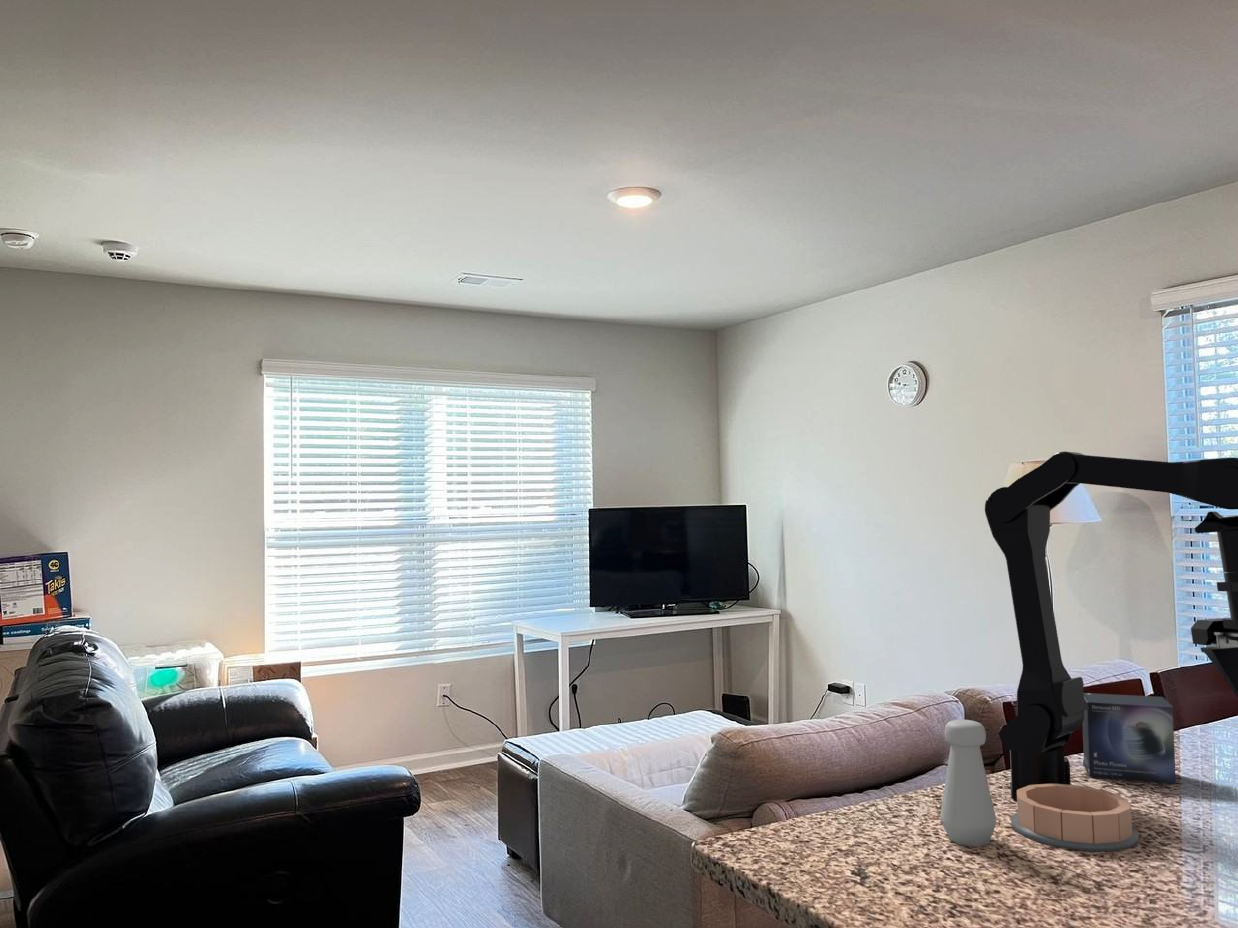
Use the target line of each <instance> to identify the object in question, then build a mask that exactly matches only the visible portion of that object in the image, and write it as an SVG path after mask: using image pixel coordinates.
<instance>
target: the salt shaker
mask: <svg viewBox="0 0 1238 928" xmlns="http://www.w3.org/2000/svg"><path fill="white" fill-rule="evenodd" d="M986 733H987V732H986V728H985V726H984V725H983V724H982V723H980V722H977V721H976V720H970V719H954V720H950V721H948V722H947V723H946V724H945V726H944V739H945V740H946V742H947V743H949V744H950V747H949V752H948V753H949V755H948V760H947V761H948V762H947V769H946V773H945V774H946V775H945V782H944V788H943V795H942V802H941V809H940V816H939V817H940V821H941V824H942V825H943V828H944V830H945V833H946V835H947V837H948V839H949V840H950V841H952V842H953V843H956V844H957V845H960V846H967V847H974V848H977V847H982V846H987V845H989V844H990V841H991V839H992V836H993V834H994V830H995V828H996V825H997V816H996V811H995V808H994V804H993V800H992V795H991V791H990V787H989V786H990V785H989V781H988V778H987V774H986V770H985V766H984V761H983V756H982V751H981V746H984V744H985V743H986V739H987V737H986V736H987V734H986Z"/></svg>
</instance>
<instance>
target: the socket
mask: <svg viewBox="0 0 1238 928" xmlns="http://www.w3.org/2000/svg"><path fill="white" fill-rule="evenodd" d="M1016 804H1017V805H1016V807H1017V808H1016V809H1017V812H1015V813H1014V814H1012V816H1011V818H1010V822H1011V824H1010V825H1011V828H1012V829H1013V830H1014V831H1015V833H1018V834H1019V835H1020V836H1023V837H1025V838H1026V839H1029V840H1032V841H1035V842H1037V843H1040V844H1043V845H1048V846H1052V847H1055V848H1061V849H1068V850H1074V851H1084V852H1085V851H1086V852H1115V851H1116V852H1117V851H1122V850H1127V849H1131V848H1133V847H1135V846H1137V845H1138V844H1139V841H1140V833H1139V831H1138V829H1137V828H1136V827H1134V826H1133V820H1132V819H1133V818H1132V806H1131V804H1130V802H1129V800H1128V799H1127V798H1125V797H1123V796H1120V795H1118V794H1115V793H1113V792H1111V791H1108V790H1103V789H1100V788H1099V789H1098V788H1095V787H1089V786H1084V785H1077V784H1071V785H1066V784H1037V785H1028V786H1026V787H1023V788H1021V789H1018V790H1017V799H1016Z"/></svg>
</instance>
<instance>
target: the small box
mask: <svg viewBox="0 0 1238 928" xmlns="http://www.w3.org/2000/svg"><path fill="white" fill-rule="evenodd" d="M1083 693H1084V698H1085V702H1086V703H1087V705H1088V707H1089V709H1088V710H1085V711H1084V720H1083V723H1082V741H1083V742H1082V744H1083V745H1082V746H1083V761H1082V766H1083V767H1084V768H1085V770H1086V773H1087V775H1088V776H1089V777H1090V778H1098V779H1099V778H1100V779H1110V780H1111V779H1112V780H1121V781H1122V780H1123V781H1124V780H1125V781H1135V782H1145V783H1146V782H1148V783H1158V784H1169V785H1170V784H1171V785H1176V784H1177V779H1176V778H1177V777H1176V757H1175V752H1176V751H1175V731H1174V730H1175V729H1174V707H1173V705H1172V704H1171V703H1170V702H1169V701H1168V700H1167V699H1165V697H1163V696H1152V695H1151V696H1149V695H1131V694H1130V695H1129V694H1111V693H1110V694H1109V693H1094V692H1093V693H1092V692H1083Z"/></svg>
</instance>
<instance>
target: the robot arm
mask: <svg viewBox="0 0 1238 928" xmlns="http://www.w3.org/2000/svg"><path fill="white" fill-rule="evenodd" d="M1080 484H1084V485H1093V486H1103V487H1112V488H1113V487H1114V488H1121V489H1132V490H1139V491H1140V490H1141V491H1150V492H1158V493H1167V494H1168V493H1169V494H1172V495H1176V496H1179V497H1183V498H1185V499H1188V500H1192V501H1195V502H1198V503H1202V504H1205V505H1209V506H1213V507H1216V508H1221V509H1225V510H1229V511H1230V510H1238V457H1220V458H1219V457H1218V458H1217V457H1216V458H1204V459H1196V460H1195V459H1194V460H1193V459H1192V460H1185V461H1184V460H1183V461H1172V462H1171V461H1157V460H1145V459H1138V458H1137V459H1136V458H1126V457H1125V458H1121V457H1113V456H1112V457H1111V456H1100V455H1096V456H1095V455H1089V454H1088V455H1087V454H1083V453H1080V452H1075V451H1073V452H1072V451H1059V452H1057V453H1054V454H1052V455H1051V456H1050V458H1048V459H1047V460H1045V462H1043V463H1042V464H1040V465H1039V466H1038V467H1036V468H1034V469H1032V470H1031V471H1029V472H1028V473H1026V474H1024V475H1022V476H1021V477H1019V478H1017V479H1016V480H1015V481H1014V482H1012V483H1011V484H1010V485H1008V486H1002V487H999V488H997V489H996V490H994V491H993V492H991V494H990V495H989V496H988V498H987V499H986V500H985V502H984V514H985V517H986V520H987V523H988V526H989V529H990V532H991V535H992V538H993V539H994V541H995V542H996V544H997V546H998V548H999V549H1000V550H1001V552H1002V554H1003V556H1004V558H1005V560H1006V566H1007V573H1008V580H1009V587H1010V592H1011V599H1012V600H1011V601H1012V605H1013V611H1014V612H1013V613H1014V618H1015V623H1016V629H1017V630H1016V631H1017V637H1018V644H1019V650H1020V655H1021V662H1022V663H1021V664H1022V669H1021V670H1022V671H1021V674H1020V679H1019V681H1018V687H1017V690H1016V716H1015V717H1014V718H1012V720H1010V721H1009V722H1008V723H1007V724H1006V725H1005V726H1003V728H1001V729H1000V730H999V732H998V735H999V739H1000V742H1001V745H1002V747H1003V749H1005V750H1008V751H1009V758H1010V760H1009V761H1010V783H1009V787H1010V788H1009V789H1010V798H1011V799H1013V800H1017V790H1018V789H1021V788H1023V787H1026V786H1028V785H1037V784H1066V785H1072V784H1071V783H1072V782H1071V765H1070V764H1071V763H1070V760H1069V758H1067V757H1065V750H1064V747H1063V745H1067V744H1069V743H1070V742H1069V741H1070V739H1071V737H1072V733H1073V732H1075V731H1077V730H1078V729H1079V728H1080V727H1081V726H1082V725H1083V720H1084V711H1085V710H1088V709H1089V707H1088V705H1087V703H1086V702H1085V698H1084V693H1085V692H1084V679H1083V677H1081V676H1077V677H1071V675H1070V673H1069V672H1068V671H1067V669H1066V668H1065V666H1064V664H1063V663H1064V662H1063V661H1062V660H1063V659H1062V655H1061V654H1062V653H1061V647H1060V642H1059V636H1058V631H1057V623H1056V619H1055V618H1056V617H1055V612H1054V606H1053V600H1052V594H1051V593H1052V591H1051V588H1050V586H1051V585H1050V581H1049V575H1048V570H1047V569H1048V568H1047V564H1046V563H1047V562H1046V557H1045V551H1046V547H1047V543H1048V540H1049V536H1050V532H1051V511H1052V510H1053V509H1055V508H1056V507H1057V506H1059V505H1060V504H1061V503H1063V502H1064V500H1065V499H1066V498H1068V496H1069V495H1070V494H1071V493H1072V491H1074V489H1075V488H1077V487H1078V486H1079V485H1080ZM1194 532H1195V533H1196V534H1207V533H1208V534H1210V533H1216V536H1217V542H1218V547H1219V552H1220V561H1221V564H1222V565H1221V566H1222V571H1223V572H1222V573H1223V578H1224V581H1216V588H1217V592H1226V595H1227V603H1228V608H1229V609H1228V610H1229V616H1230V617H1221V618H1206V619H1197V620H1195V622H1194V624H1193V625H1192V626H1191V627H1190V633H1191V639H1192V644H1193V645H1200V646H1203V647H1200V651H1201V653H1204V654H1205V655H1206V656H1207V658H1208V659H1209V660H1210V661H1211V663H1212V665H1213V666H1214V667H1215V668H1216V670H1217V671H1218V672H1219V673H1220V674H1221V677H1222V678H1223V679H1224V680H1225V682H1226V683H1227V684H1228V687H1230V689H1231V690H1232V692H1233V693H1234V695H1235V696H1236V697H1237V698H1238V515H1231V516H1223V515H1221V513H1219V512H1218V511H1208V512H1207V513H1206V516H1205V517H1204V519H1202V521H1201V522H1200V523H1199V524H1197V526H1195V528H1194ZM1204 646H1205V647H1204Z"/></svg>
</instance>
